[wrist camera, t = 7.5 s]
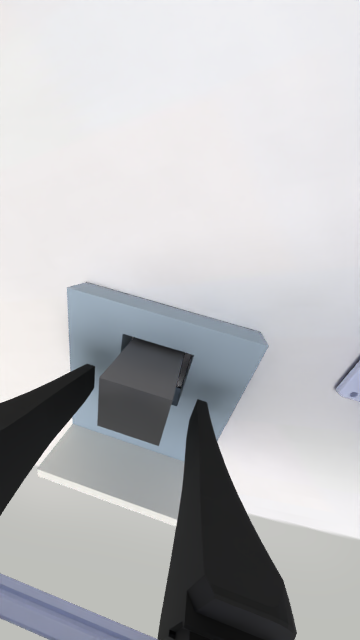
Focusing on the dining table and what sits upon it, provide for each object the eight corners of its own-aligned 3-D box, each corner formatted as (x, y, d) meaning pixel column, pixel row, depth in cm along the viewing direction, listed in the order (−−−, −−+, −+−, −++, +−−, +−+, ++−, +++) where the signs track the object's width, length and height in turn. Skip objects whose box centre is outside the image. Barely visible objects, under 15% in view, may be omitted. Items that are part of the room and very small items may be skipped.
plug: (187, 341, 14) (172, 400, 9) (176, 379, 16) (158, 448, 10) (141, 328, 14) (99, 377, 9) (135, 367, 16) (97, 428, 11)
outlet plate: (260, 332, 13) (298, 394, 7) (200, 452, 19) (196, 533, 14) (86, 282, 13) (1, 304, 8) (85, 414, 20) (38, 476, 15)
